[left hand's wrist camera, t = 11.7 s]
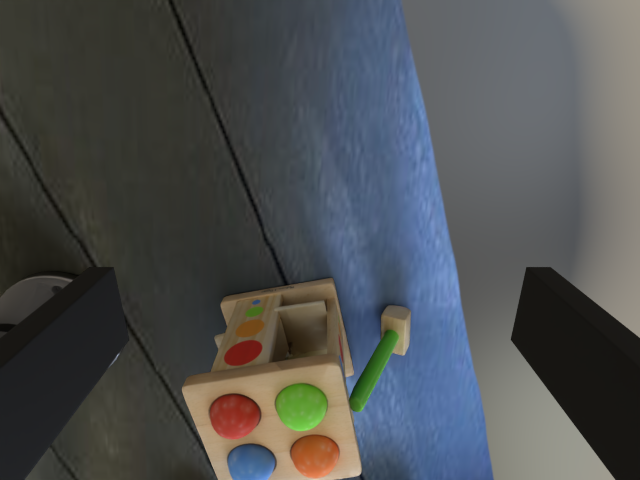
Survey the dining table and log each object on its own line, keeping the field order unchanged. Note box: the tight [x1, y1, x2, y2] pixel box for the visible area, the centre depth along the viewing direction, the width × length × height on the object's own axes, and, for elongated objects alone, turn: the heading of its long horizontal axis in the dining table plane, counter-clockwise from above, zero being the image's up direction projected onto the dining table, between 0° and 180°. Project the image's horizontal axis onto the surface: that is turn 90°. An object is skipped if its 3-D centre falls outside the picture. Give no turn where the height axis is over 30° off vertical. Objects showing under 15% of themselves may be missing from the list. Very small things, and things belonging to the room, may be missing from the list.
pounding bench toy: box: [182, 278, 411, 480], centre depth 43 cm, size 23×14×18 cm, turn 101°
